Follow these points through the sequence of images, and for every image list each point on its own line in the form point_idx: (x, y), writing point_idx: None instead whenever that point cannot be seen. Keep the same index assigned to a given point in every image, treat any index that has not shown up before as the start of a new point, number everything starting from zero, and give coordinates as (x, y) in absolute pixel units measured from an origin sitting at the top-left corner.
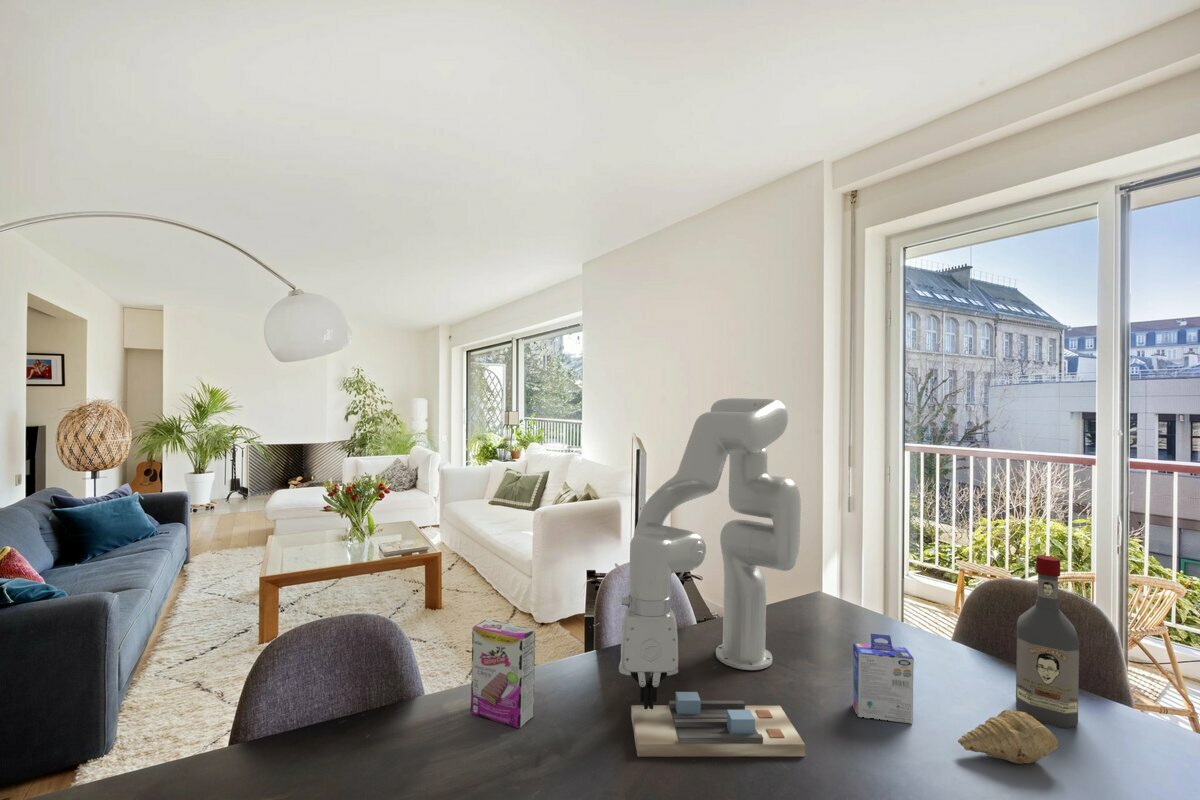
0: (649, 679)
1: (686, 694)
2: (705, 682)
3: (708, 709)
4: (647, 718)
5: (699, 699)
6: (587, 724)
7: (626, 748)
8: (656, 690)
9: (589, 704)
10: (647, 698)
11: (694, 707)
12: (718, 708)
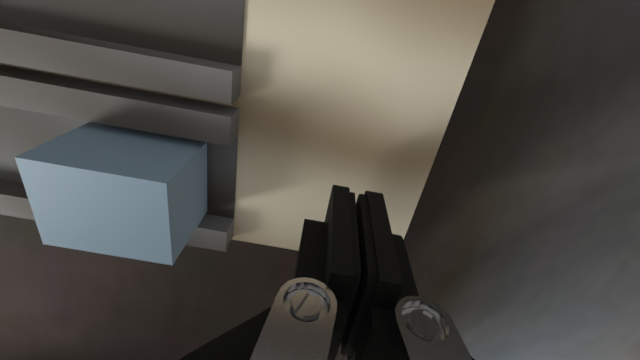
0: (334, 356)
1: (109, 232)
2: (90, 343)
3: None
4: (360, 167)
5: (24, 171)
6: (577, 221)
7: (510, 25)
8: (299, 265)
9: (502, 316)
10: (372, 224)
11: (89, 147)
12: (6, 179)
